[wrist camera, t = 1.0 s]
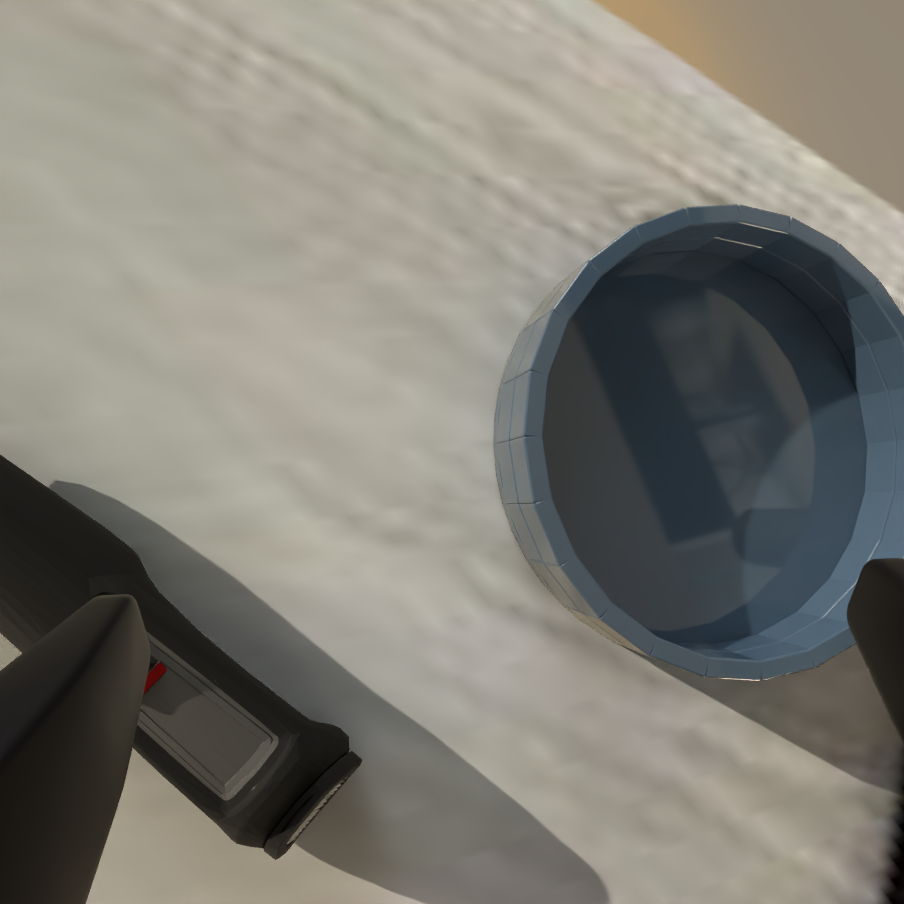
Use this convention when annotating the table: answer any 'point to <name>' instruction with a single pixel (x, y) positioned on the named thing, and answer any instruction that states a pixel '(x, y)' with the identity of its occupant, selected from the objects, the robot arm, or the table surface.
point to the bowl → (709, 440)
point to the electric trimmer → (171, 676)
